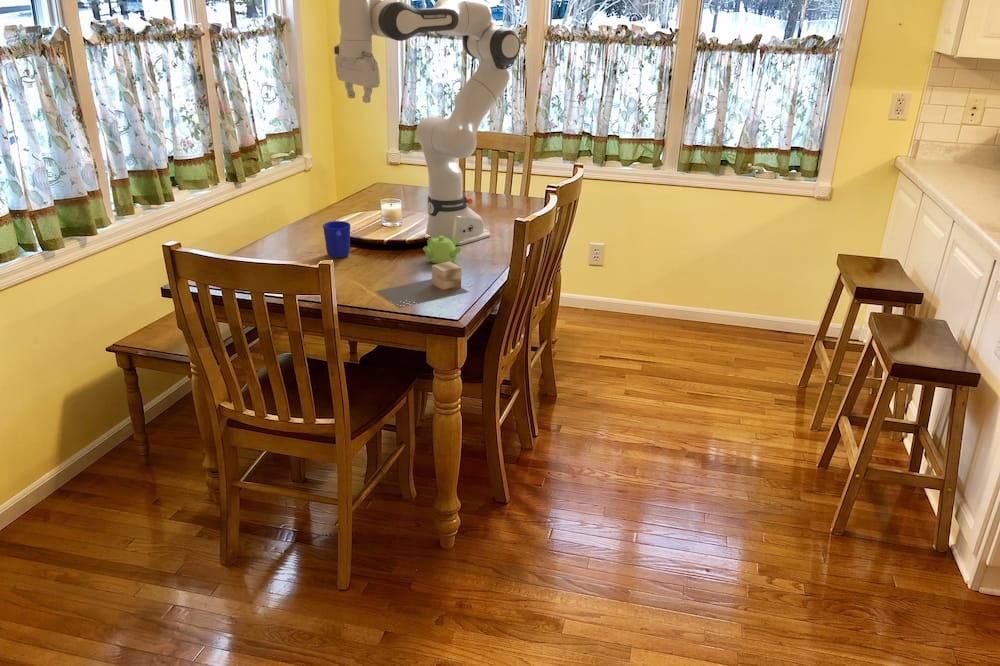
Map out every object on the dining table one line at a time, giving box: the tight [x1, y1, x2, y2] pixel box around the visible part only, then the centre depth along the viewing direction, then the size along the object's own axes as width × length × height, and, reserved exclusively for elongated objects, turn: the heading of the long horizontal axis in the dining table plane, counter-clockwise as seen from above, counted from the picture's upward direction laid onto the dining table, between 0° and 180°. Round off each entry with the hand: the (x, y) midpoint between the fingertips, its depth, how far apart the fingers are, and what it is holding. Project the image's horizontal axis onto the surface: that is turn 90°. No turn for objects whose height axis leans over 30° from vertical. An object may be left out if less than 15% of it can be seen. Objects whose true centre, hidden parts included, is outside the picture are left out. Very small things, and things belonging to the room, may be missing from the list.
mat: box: [375, 278, 469, 309], centre depth 224 cm, size 22×14×1 cm, turn 125°
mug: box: [322, 220, 351, 259], centre depth 247 cm, size 8×12×10 cm
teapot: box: [422, 236, 462, 264], centre depth 246 cm, size 11×12×8 cm
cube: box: [431, 261, 462, 291], centre depth 227 cm, size 6×6×6 cm
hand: (358, 100), depth 234 cm, fingers open, 8 cm apart
